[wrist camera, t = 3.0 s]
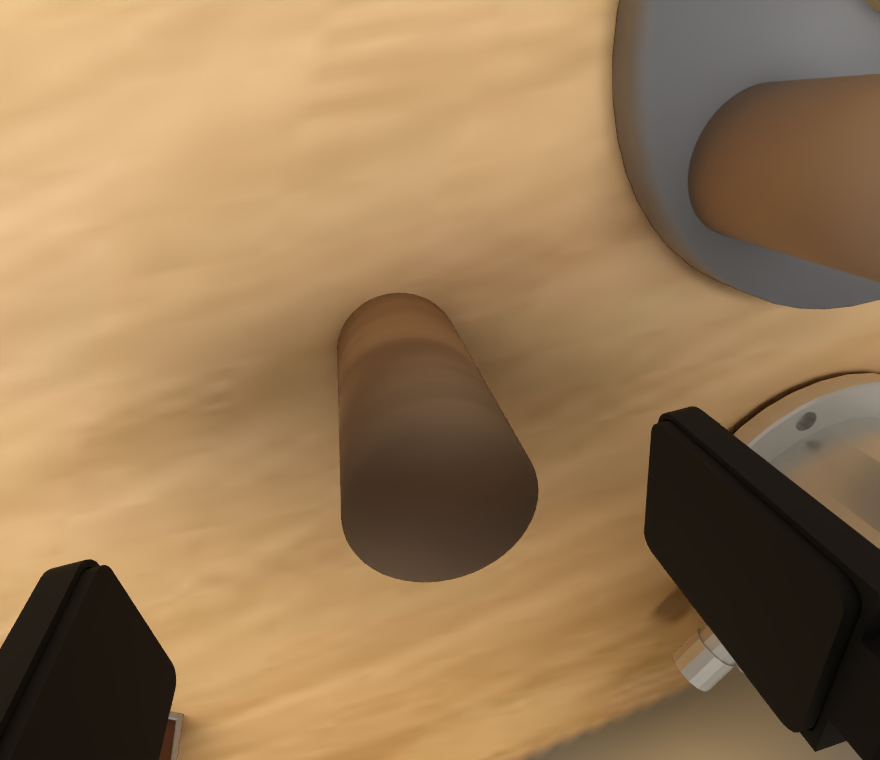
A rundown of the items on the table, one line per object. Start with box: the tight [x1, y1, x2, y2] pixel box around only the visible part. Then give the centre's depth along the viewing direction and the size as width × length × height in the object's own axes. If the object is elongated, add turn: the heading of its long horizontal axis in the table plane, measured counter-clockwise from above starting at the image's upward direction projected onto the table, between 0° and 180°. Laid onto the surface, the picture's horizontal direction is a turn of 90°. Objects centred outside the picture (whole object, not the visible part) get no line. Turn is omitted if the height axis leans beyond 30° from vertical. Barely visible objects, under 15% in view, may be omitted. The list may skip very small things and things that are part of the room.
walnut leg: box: [337, 293, 538, 582], centre depth 14 cm, size 4×4×8 cm
